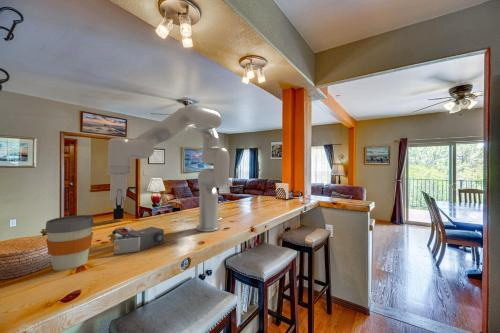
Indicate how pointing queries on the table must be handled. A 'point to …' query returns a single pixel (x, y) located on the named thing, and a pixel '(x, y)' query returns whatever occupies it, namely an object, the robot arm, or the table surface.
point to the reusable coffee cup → (69, 240)
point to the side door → (126, 245)
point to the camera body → (148, 237)
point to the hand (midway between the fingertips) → (118, 218)
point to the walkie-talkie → (122, 232)
